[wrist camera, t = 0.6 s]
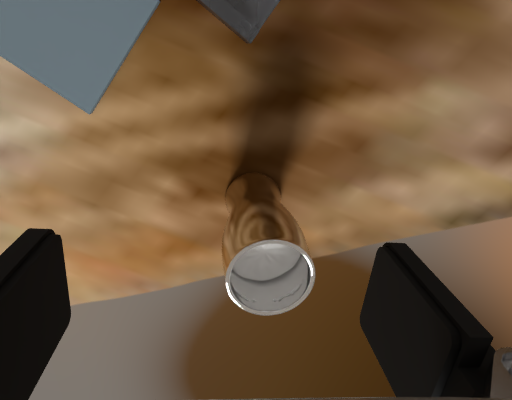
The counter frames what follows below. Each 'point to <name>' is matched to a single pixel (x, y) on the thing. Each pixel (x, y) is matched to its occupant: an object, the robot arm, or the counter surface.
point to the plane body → (241, 15)
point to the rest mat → (72, 42)
